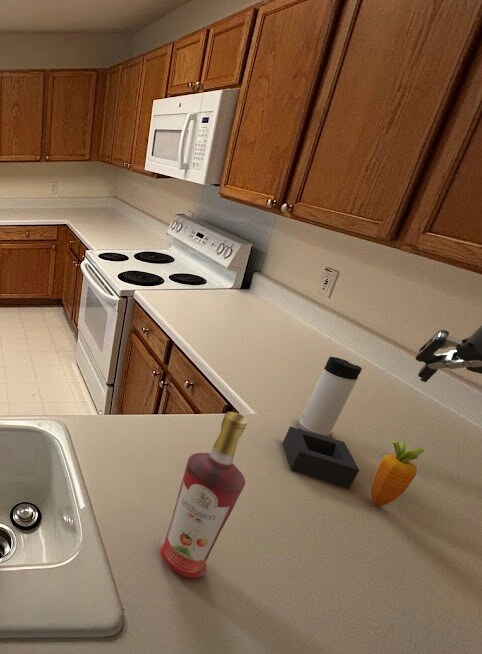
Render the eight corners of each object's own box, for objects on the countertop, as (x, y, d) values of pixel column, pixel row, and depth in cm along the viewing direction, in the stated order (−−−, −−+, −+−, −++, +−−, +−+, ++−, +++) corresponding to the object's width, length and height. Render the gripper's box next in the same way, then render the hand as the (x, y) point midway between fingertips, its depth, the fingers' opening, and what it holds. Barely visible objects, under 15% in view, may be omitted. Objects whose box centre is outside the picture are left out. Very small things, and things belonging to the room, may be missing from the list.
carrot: (353, 498, 82) (387, 438, 76) (368, 493, 84) (402, 433, 78) (383, 518, 78) (421, 456, 72) (398, 512, 80) (436, 451, 74)
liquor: (212, 564, 66) (274, 420, 55) (195, 594, 61) (260, 443, 50) (167, 534, 70) (216, 396, 60) (148, 559, 66) (198, 414, 55)
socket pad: (335, 459, 93) (344, 441, 91) (349, 489, 84) (359, 470, 83) (282, 443, 97) (290, 426, 95) (290, 470, 88) (299, 451, 87)
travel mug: (291, 424, 105) (322, 355, 97) (309, 421, 107) (341, 353, 99) (316, 440, 99) (351, 368, 92) (334, 436, 101) (370, 366, 94)
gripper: (614, 334, 55) (524, 398, 66) (465, 293, 63) (409, 356, 75) (606, 371, 52) (514, 431, 63) (451, 323, 61) (395, 384, 72)
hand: (457, 391), depth 69 cm, fingers open, 8 cm apart
